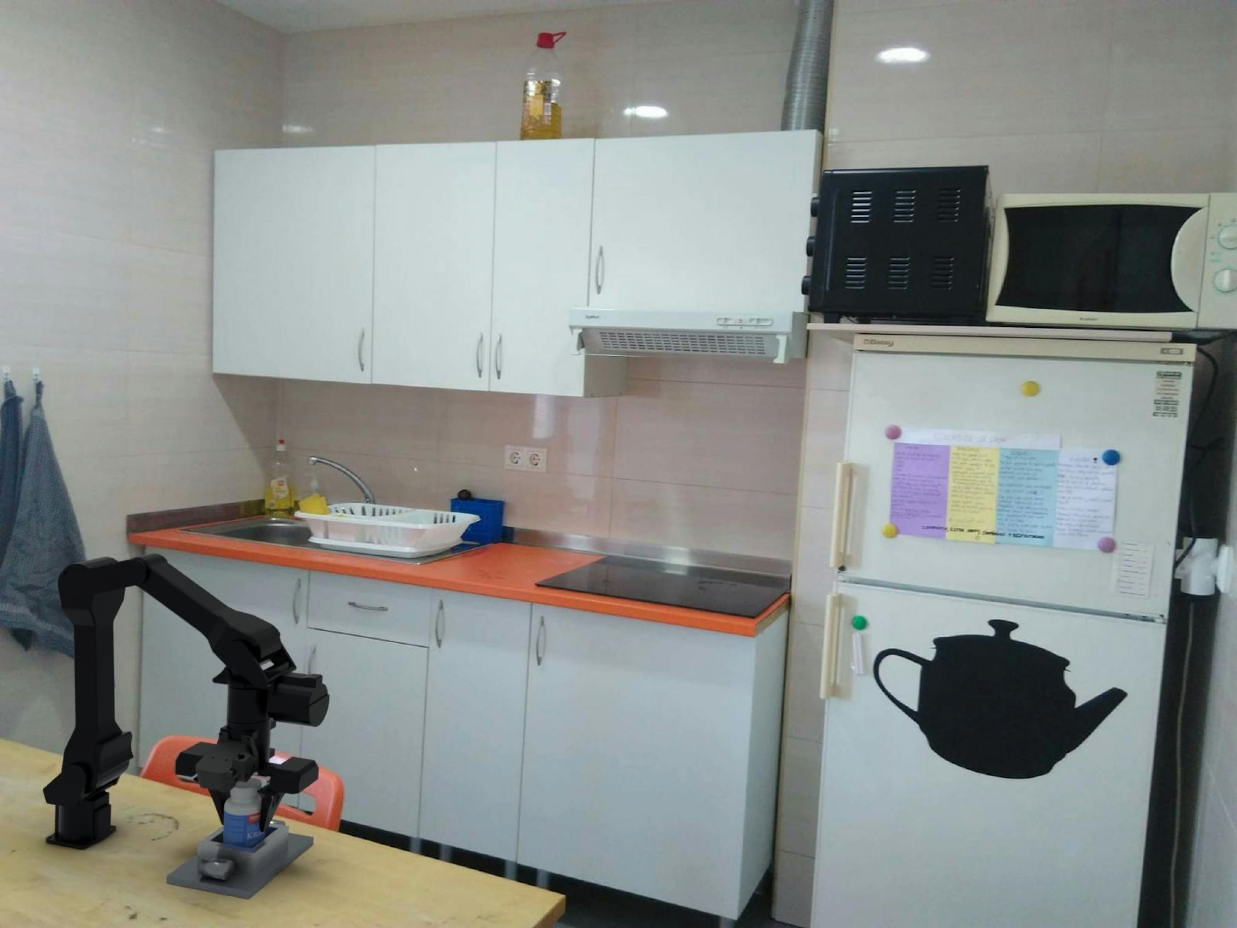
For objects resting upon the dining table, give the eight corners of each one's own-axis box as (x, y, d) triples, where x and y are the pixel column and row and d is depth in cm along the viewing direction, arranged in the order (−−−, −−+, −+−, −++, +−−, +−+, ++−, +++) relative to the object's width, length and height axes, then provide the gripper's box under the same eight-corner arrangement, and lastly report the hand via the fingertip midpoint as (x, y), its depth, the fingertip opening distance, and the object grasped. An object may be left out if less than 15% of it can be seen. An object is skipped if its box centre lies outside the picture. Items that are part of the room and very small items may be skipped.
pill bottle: (250, 864, 130) (252, 793, 129) (214, 858, 131) (215, 788, 130) (272, 845, 135) (274, 777, 134) (237, 840, 136) (239, 773, 135)
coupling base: (166, 882, 126) (167, 853, 126) (239, 830, 142) (240, 803, 142) (248, 898, 124) (249, 868, 124) (313, 843, 139) (314, 816, 139)
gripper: (148, 726, 125) (144, 842, 127) (278, 747, 122) (272, 866, 123) (202, 700, 136) (198, 807, 137) (323, 718, 132) (317, 829, 134)
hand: (244, 827), depth 133 cm, fingers open, 6 cm apart
